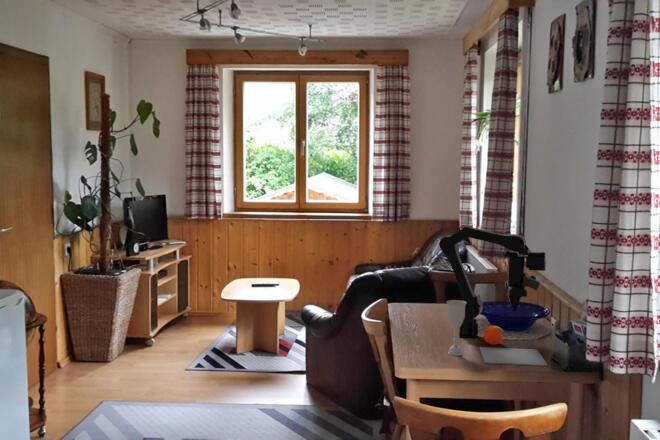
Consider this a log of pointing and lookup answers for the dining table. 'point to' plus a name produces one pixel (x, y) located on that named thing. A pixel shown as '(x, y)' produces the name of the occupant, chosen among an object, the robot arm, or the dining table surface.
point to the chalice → (456, 322)
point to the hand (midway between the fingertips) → (514, 311)
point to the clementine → (493, 335)
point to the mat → (512, 356)
